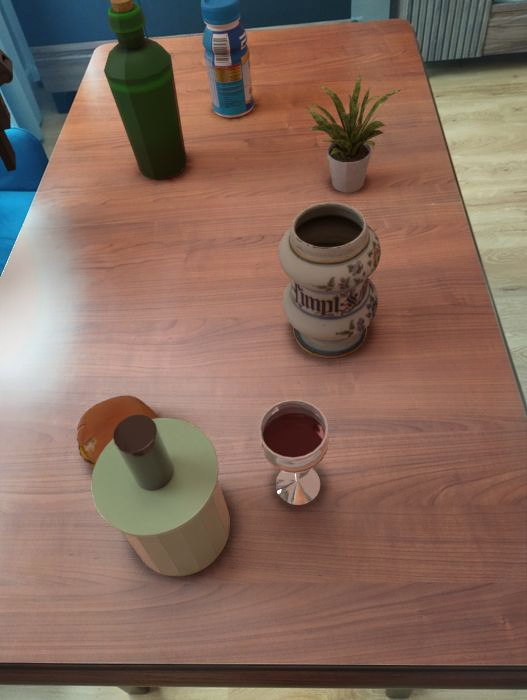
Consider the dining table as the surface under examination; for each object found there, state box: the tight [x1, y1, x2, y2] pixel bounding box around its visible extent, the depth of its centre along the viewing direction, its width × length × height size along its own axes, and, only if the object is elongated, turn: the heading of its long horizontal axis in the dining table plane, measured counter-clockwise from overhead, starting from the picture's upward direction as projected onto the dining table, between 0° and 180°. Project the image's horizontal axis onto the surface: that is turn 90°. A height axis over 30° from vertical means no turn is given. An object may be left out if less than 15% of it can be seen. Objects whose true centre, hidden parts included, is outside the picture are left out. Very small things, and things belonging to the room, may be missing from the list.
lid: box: [90, 415, 220, 537], centre depth 51 cm, size 12×12×8 cm
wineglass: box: [257, 398, 330, 506], centre depth 60 cm, size 7×7×12 cm
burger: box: [76, 394, 159, 470], centre depth 68 cm, size 10×9×5 cm
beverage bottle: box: [200, 0, 255, 119], centre depth 108 cm, size 8×8×20 cm
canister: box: [122, 480, 231, 577], centre depth 58 cm, size 10×10×12 cm
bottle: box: [103, 0, 187, 180], centre depth 95 cm, size 11×11×28 cm
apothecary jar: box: [277, 201, 382, 359], centre depth 71 cm, size 12×12×18 cm
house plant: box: [305, 74, 403, 193], centre depth 92 cm, size 14×14×16 cm
